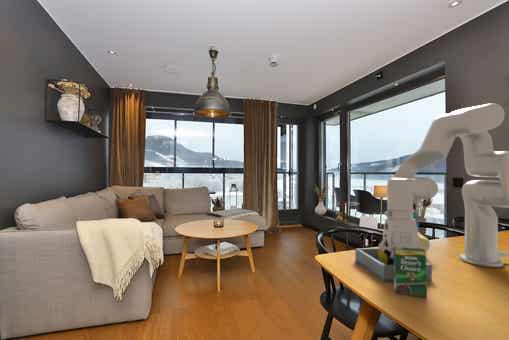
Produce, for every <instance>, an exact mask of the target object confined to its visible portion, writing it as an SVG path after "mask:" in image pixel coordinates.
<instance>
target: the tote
mask: <svg viewBox="0 0 509 340" xmlns="http://www.w3.org/2000/svg"><path fill="white" fill-rule="evenodd" d="M378 251H379V248H378V247H362V248H361V247H359V248H356V247H355V255H354V256H355V259H354V260H355V263H357V264H358V265H360V266H361V267H362V268H364V269H366V271H368V272H369V273H371V274H372V275H373V276H374V277H376V278H377V279H379V280H380V281H381V282H383V283H394V265H386V264H385V263H383V262H382V261H381V260H380V258H379V255H378ZM432 271H433V264H431V263H429V262H427V261H426V276H427V281H432V279H433V272H432Z"/></svg>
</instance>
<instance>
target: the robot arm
mask: <svg viewBox="0 0 509 340" xmlns="http://www.w3.org/2000/svg"><path fill="white" fill-rule="evenodd" d="M505 115H506V114H505V110H504V108H503V107H502V106H501V105H500V104H498V103H494V102H493V103H485V104H482V105H475V106H470V107H463V108H461V109H460V108H459V109H456V110H454V111H451V112H450V113H444V114H441V115H439V116H437V117H435V118H434V119H433V121H432V123H431V124H430V127H429V129H428V130H427V134H426V135H425V137H424V139H423V141H422V143H421V145H420V148H418V150H417V151H415V152H414V153H412V154H411V155H410V156H409V157H408V158H407V159H405V160H404V161H403V162H402V163H401V164H400V165H399V167H398V168H397V170H396V172H395V174H394V177H391V178H389V179H388V180H387V182H386V183H387V186H386V187H387V188H386V189H387V191H386V192H387V196H386V197H387V199H386V200H387V201H386V203H387V205H386V211H384V214H383V215H384V216H386V217H385V219H384V224H383V231H382V232H383V233H382V240H381V242H380V243H379V244H378V246H377V248H379V249H381V250H382V251H383V252H384V253H385V254H386V255H387V265H394V257H393V247H402V248H417V249H420V248H421V245H420V243H419V242H418V230H419V229H418V230H417V224H416V221H415V219H413V211H414V209H413V204H414V200H429V199H430V200H431V199H433V198H434V197H436V196H437V193H439V186H438V184H437V183H436V181H435V180H434V179H432V178H430V177H425V176H423V177H421V176H415V175H416V174H417V173H418V172H419V171H422V170H423V169H424V168H425V169H426V168H427V167H430V166H432V165H435V164H437V163H440V162H441V161H443V160H445V159H447V157H448V155H449V153H450V151H451V148H452V147H453V144H454V142H455V139H456V138H457V137H459V138H460V140H461V142H462V147H463V159H464V161H463V162H464V169H465V171H466V174H467V175H469V176H471V177H476V178H477V177H479V178H498V180H489V179H473V180H469V181H466V182H465V183H464V184H463V185H462V188H461V195H462V199H463V204H464V252H463V253H461V254H460V255H459V259H460V260H462V261H464V262H466V263H468V264H472V265H476V266H481V267H486V268H501V267H503V266H504V262H503V260H500V259H501V258H508V257H509V253H508V252H506V251H500V250H498V242H499V241H498V239H499V238H498V234H499V233H498V232H499V231H498V230H499V228H498V227H499V226H498V223H499V219H498V215H497V213H496V211H495V210H494V209H493V207H496V208H497V207H498V208H506V209H509V150H499V151H498V150H497V151H496V150H494V147H493V146H494V145H493V139H492V136H491V135H490V133H489V132H488V131H489V130H492V129H495V128H498V127H499V126H500V125H501V124H502V123H503V122H504V120H505ZM385 246H386V247H387V249H386V248H385ZM390 252H391V253H390Z"/></svg>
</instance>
